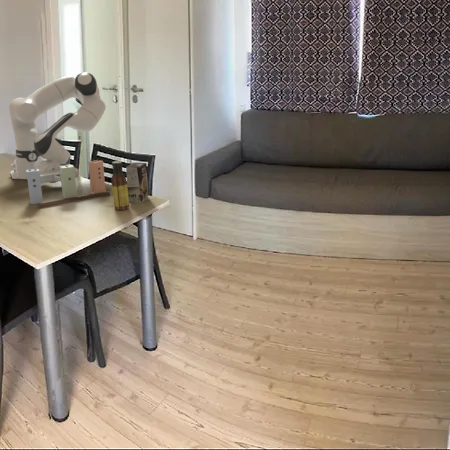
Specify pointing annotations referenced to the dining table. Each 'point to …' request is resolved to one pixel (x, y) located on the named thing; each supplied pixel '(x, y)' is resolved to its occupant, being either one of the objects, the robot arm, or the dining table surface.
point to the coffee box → (137, 182)
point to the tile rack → (73, 199)
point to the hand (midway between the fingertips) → (62, 179)
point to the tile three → (96, 176)
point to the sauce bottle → (119, 187)
